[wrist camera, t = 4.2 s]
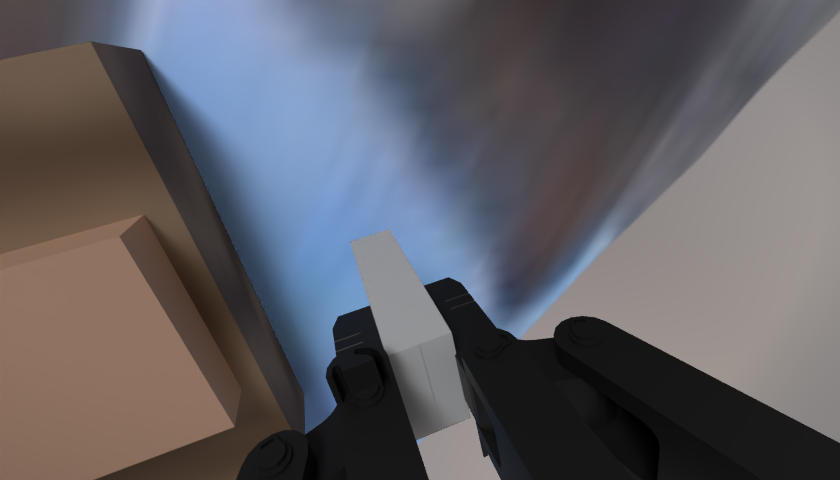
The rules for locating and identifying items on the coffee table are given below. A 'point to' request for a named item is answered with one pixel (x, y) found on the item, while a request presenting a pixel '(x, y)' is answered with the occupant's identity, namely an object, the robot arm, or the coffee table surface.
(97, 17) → the coffee table surface
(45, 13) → the coffee table surface
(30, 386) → the terracotta tile
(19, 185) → the block
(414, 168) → the coffee table surface
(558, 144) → the coffee table surface
